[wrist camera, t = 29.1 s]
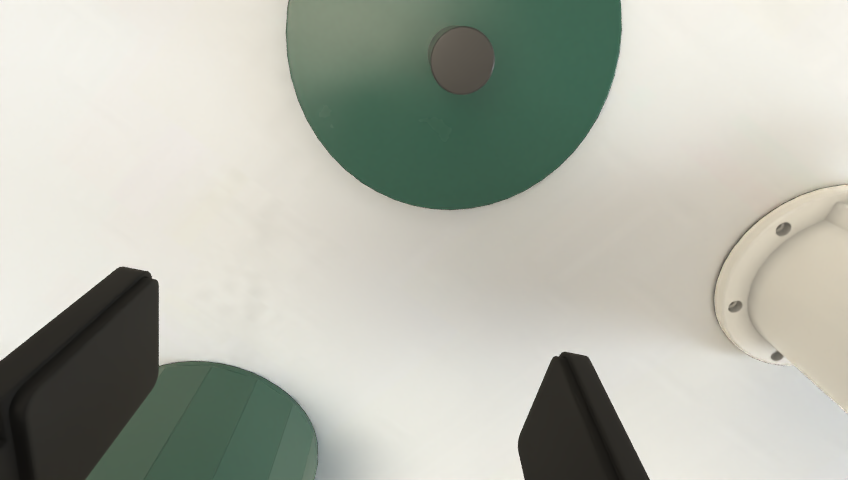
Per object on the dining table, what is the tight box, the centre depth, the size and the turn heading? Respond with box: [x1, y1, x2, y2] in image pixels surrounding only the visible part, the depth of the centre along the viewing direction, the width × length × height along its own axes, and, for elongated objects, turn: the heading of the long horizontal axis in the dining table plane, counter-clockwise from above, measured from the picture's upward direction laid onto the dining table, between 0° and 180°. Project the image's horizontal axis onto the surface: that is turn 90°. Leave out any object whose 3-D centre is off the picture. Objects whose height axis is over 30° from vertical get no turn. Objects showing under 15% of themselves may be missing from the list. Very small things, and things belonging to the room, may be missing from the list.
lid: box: [286, 0, 622, 210], centre depth 22 cm, size 17×17×6 cm
